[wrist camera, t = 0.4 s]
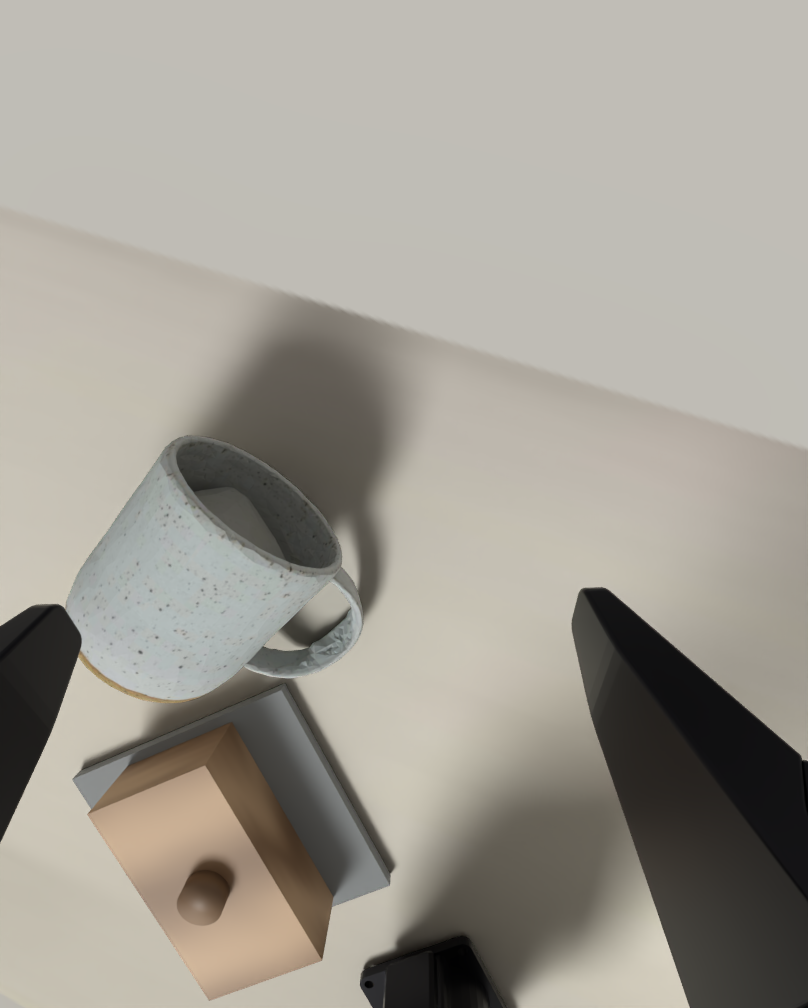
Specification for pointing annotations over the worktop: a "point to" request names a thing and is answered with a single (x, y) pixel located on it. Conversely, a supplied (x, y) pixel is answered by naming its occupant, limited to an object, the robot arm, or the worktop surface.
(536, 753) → the worktop surface
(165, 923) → the lid
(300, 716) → the mat
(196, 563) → the ceramic mug
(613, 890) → the worktop surface
